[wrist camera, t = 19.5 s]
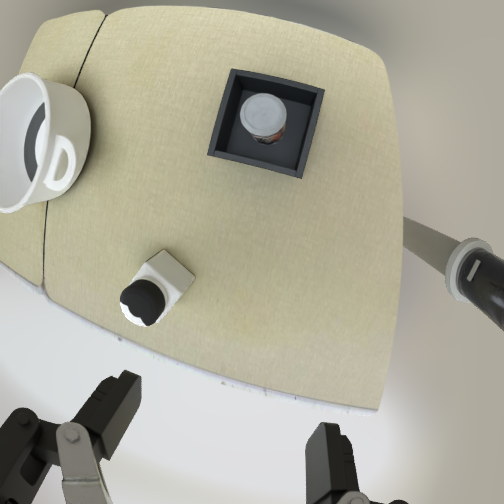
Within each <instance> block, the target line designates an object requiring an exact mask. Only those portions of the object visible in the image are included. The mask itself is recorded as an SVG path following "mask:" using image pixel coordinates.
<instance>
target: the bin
mask: <svg viewBox="0 0 504 504" xmlns="http://www.w3.org/2000/svg"><path fill="white" fill-rule="evenodd" d="M324 92H325V90H324V89H321V88H317V87H314V86H310V85H307V84H303V83H299V82H295V81H292V80H287V79H283V78H279V77H275V76H270V75H265V74H260V73H255V72H250V71H244V70H237V69H231V71H230V74H229V77H228V80H227V84H226V87H225V90H224V94H223V97H222V101H221V104H220V108H219V111H218V115H217V119H216V122H215V126H214V130H213V133H212V137H211V141H210V145H209V149H208V153H207V155H209V156H214V157H218V158H223V159H227V160H232V161H236V162H240V163H244V164H248V165H252V166H256V167H260V168H264V169H268V170H272V171H275V172H279V173H283V174H286V175H290V176H294V177H297V178H300V179H302V176H303V172H304V169H305V165H306V161H307V157H308V154H309V150H310V146H311V143H312V139H313V135H314V131H315V127H316V123H317V120H318V116H319V112H320V108H321V104H322V100H323V96H324ZM260 93H267V94H271V95H274V96H276V97H277V98H279V99H280V100H281V101H282V103H283V104H284V106H285V108H286V113H287V116H286V125H285V133H284V136H283V138H282V139H281V140H280V141H279V142H278V143H276V144H274V145H263V144H260V143H258V142H257V141H256V140H255V139H254V138H253V137H252V135H251V134H250V133H249V131H248V130H247V129H246V128H245V127H244V126H243V124H242V122H241V118H240V112H241V108H242V105H243V104H244V102H245V101H246V100H247V99H248V98H250V97H251V96H253V95H256V94H260Z"/></svg>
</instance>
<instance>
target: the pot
mask: <svg viewBox="0 0 504 504" xmlns="http://www.w3.org/2000/svg"><path fill="white" fill-rule="evenodd" d="M90 140H91V119H90V113H89V110H88V107H87V104H86V101H85V100H84V98H83V96H82V95H81V94H80V93H79V92H78V91H77V90H75V89H74V88H72V87H70V86H67V85H64V84H61V83H57V82H53V81H49V80H45V79H41V78H40V77H39V76H38V75H37V74H34V73H32V72H27V73H22V74H20V75H18V76H16V77H14V78H13V79H11V80H10V81H9V82H8V83H7V84H6V85H5V86H4V87H3V88H2V90H1V91H0V212H3V213H7V214H8V213H13V212H16V211H17V210H19V209H20V208H22V207H23V206H26V205H30V204H34V203H39V202H43V201H48V200H52V199H54V198H56V197H58V196H60V195H62V194H63V193H64V192H66V191H67V190H68V189H69V188H70V187H71V185H72V184H73V183H74V182H75V180H76V179H77V177H78V175H79V174H80V172H81V170H82V168H83V166H84V163H85V161H86V158H87V155H88V151H89V147H90Z"/></svg>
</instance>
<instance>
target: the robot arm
mask: <svg viewBox="0 0 504 504" xmlns="http://www.w3.org/2000/svg"><path fill="white" fill-rule="evenodd" d="M456 287H457V290H458V291H459V293H460V294H461V295H463V296H464V297H466V298H467V299H468V300H469V301H471V302H472V303H473V304H474V305H475V306H476V307H478V308H479V309H480V310H481V311H482V312H483V313H484V314H485V315H487V316H488V317H489V318H490V319H491V320H492V321H493V322H494V323H495V324H497V325H498V326H499V327H500V328H501V329H502V330H503V331H504V260H503V259H501V258H499V257H497V256H496V255H494V254H492V253H490V252H488V251H487V250H485V249H483V248H480V247H477V248H473V249H471V250H470V251H469V252H467V253H466V254H465V256H464V257H463V258H462V260H461V262H460V264H459V266H458V269H457V273H456ZM140 402H141V376H139V375H137V374H134V373H132V372H129V371H127V370H124V371H123V372H122V373H121V375H120V376H119V378H118V379H117V378H115V377H113V376H110V377H108V378H106V379H105V380H103V381H101V383H100V384H99V385H98V387H97V388H96V390H95V391H94V392H93V393H92V395H91V397H89V398H88V400H87V401H86V402H85V404H84V405H83V407H82V408H81V409H80V410H79V412H78V413H77V414H76V416H75V417H74V419H72V420H71V421H70V422H66V423H63V424H54V423H51V422H47V421H44V420H41V419H38V417H37V415H36V414H35V413H34V412H33V411H32V410H30V409H28V408H18V409H16V410H14V411H13V412H12V413H11V415H10V416H9V417H8V419H7V420H6V421H5V422H4V424H3V425H2V426H1V428H0V504H31V503H32V501H33V499H34V497H35V495H36V493H37V492H38V490H39V488H40V486H41V484H42V482H43V480H44V479H45V477H46V475H47V473H48V471H49V469H50V467H51V466H52V464H54V465H57V466H60V467H61V469H62V474H63V480H62V489H63V493H64V497H65V500H66V504H113V503H112V500H111V498H110V495H109V492H108V489H107V486H106V483H105V480H104V477H103V474H102V470H101V467H100V464H99V462H100V461H101V459H102V457H103V458H105V459H107V460H110V459H111V457H112V455H113V453H114V451H115V450H116V448H117V446H118V444H119V442H120V440H121V438H122V437H123V435H124V433H125V431H126V430H127V428H128V426H129V424H130V422H131V421H132V419H133V417H134V415H135V413H136V412H137V409H138V408H139V406H140ZM305 456H306V504H383V503H378V502H373V501H370V500H369V499H368V497H367V496H366V495H365V494H363V493H361V492H360V490H359V486H358V479H357V473H356V467H355V463H354V456H353V449H352V444H351V443H350V441H349V439H348V438H347V436H346V435H341V434H340V427H339V425H338V424H335V423H326V422H321V423H320V424H319V426H318V427H317V429H316V430H315V431H314V433H313V434H312V435H311V437H310V438H309V440H308V442H307V444H306V450H305ZM389 504H408V503H407V502H405V501H403V500H394V501H393V502H391V503H389Z"/></svg>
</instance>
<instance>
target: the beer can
mask: <svg viewBox="0 0 504 504" xmlns="http://www.w3.org/2000/svg"><path fill="white" fill-rule="evenodd" d="M286 116H287V113H286V108H285V106H284V104H283V103H282V101H281V100H280V99H279V98H277V97H276V96H274V95H271V94H267V93H260V94H256V95H253V96H251V97H250V98H248V99H247V100H246V101H245V102H244V104H243V105H242V108H241V112H240V118H241V122H242V124H243V126H244V127H245V128H246V129H247V130H248V131H249V133H250V134H251V135H252V137H253V138H254V139H255V140H256V141H257V142H258V143H260V144H263V145H274V144H276V143H278V142H279V141H280V140H281V139H282V138H283V136H284V133H285V125H286Z"/></svg>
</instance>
